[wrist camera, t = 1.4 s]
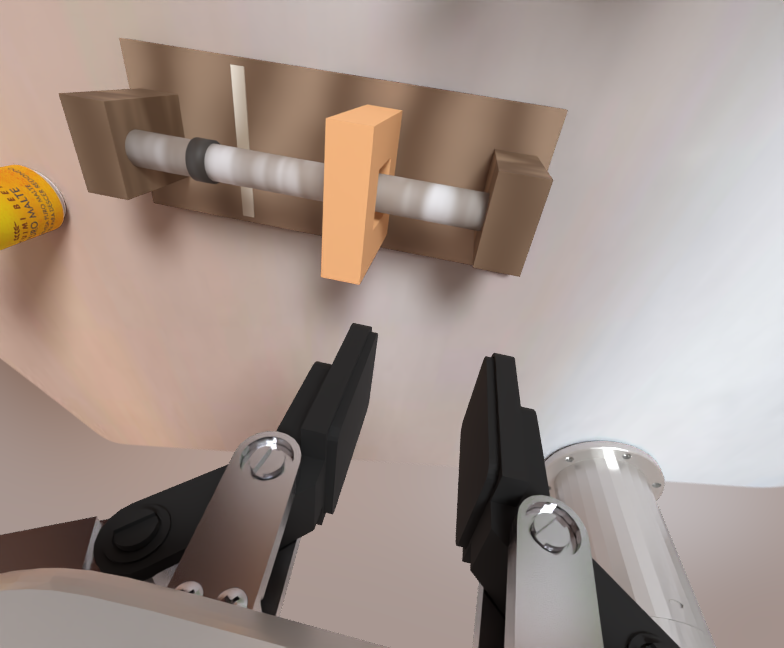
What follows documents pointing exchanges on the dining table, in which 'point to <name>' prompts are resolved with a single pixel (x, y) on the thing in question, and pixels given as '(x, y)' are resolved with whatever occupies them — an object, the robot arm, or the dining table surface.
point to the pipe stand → (316, 150)
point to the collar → (356, 188)
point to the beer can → (27, 205)
